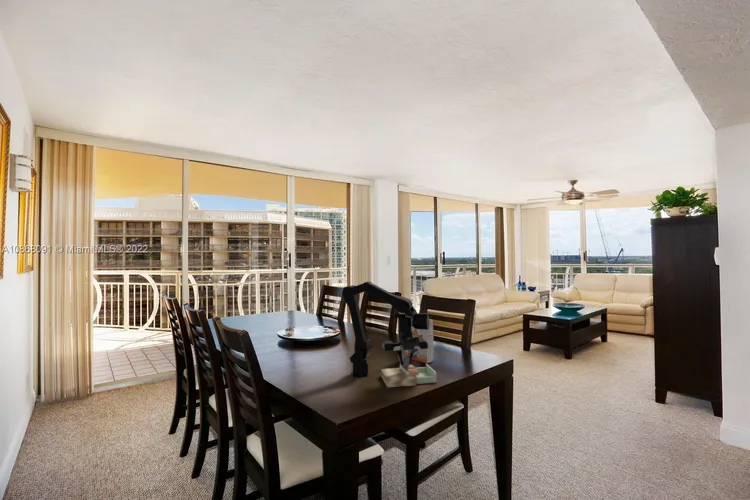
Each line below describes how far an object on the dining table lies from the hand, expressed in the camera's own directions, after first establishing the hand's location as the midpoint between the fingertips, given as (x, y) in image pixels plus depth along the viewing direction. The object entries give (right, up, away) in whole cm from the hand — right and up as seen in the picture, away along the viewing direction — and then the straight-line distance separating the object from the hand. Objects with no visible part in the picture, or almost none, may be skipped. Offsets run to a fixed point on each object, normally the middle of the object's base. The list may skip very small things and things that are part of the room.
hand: (405, 365), depth 159 cm
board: (-3, -6, -1) cm, 7 cm away
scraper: (0, -3, 0) cm, 3 cm away
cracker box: (+9, -6, +28) cm, 30 cm away
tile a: (+3, -3, -3) cm, 5 cm away
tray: (+7, -6, +1) cm, 9 cm away
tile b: (+2, -3, +4) cm, 5 cm away
